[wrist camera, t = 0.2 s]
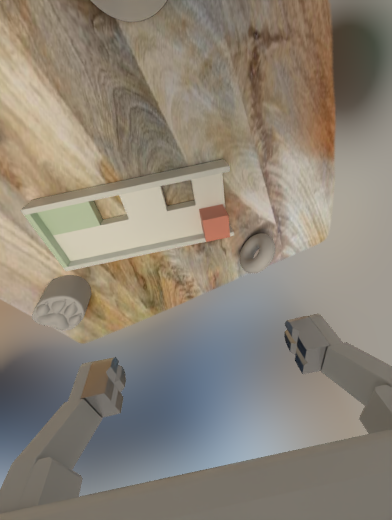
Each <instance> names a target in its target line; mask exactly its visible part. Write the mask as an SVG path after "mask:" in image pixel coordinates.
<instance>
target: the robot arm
mask: <svg viewBox="0 0 392 520" xmlns="http://www.w3.org/2000/svg"><path fill="white" fill-rule="evenodd" d="M91 1H92V2H93V3H94V4H95V5H96V6H97V7H98V8H99V9H101V10H102V11H103V12H105V13H106V14H108V15H110V16H111V17H114V18H116V19H119V20H122V21H127V22H137V21H142V20H145V19H148V18H149V17H151V16H153V15H154V14H156V13H157V12H158V11H159V10H160V9H161V8H162V7H163V6H164V4H165V3H166V2H167V0H91ZM285 326H286V328H287V330H286V331H285V336H284V337H285V341H286V344H287V346H288V348H289V350H290V352H292V353H293V354H295V361H296V363H297V365H298V367H299V369H300V371H301V372H302V374H305V373H311V372H317V371H321V372H322V373H323V374H325V375H326V376H327V377H329V378H330V379H331V380H332V381H334V382H335V383H336V384H338V385H339V386H340V387H342V388H343V389H344V390H345V391H347V392H348V393H349V394H351V395H352V396H353V397H355V398H356V399H357V400H358V401H360V402H361V403H362V404H364V405H365V408H364V409H363V411H362V413H361V415H360V421H361V422H362V424H363V426H364V427H365V429H366V430H367V432H368V433H369V434H367V435H363V436H358V437H353V438H349V439H344V440H339V441H335V442H330V443H325V444H321V445H316V446H312V447H307V448H302V449H298V450H293V451H288V452H284V453H279V454H275V455H270V456H265V457H261V458H256V459H251V460H247V461H242V462H238V463H233V464H228V465H224V466H219V467H215V468H210V469H205V470H200V471H196V472H192V473H187V474H182V475H177V476H173V477H168V478H163V479H159V480H154V481H149V482H145V483H140V484H136V485H131V486H127V487H122V488H117V489H112V490H108V491H103V492H98V493H94V494H89V495H85V496H80V497H79V492H80V488H81V483H82V477H81V475H79V474H77V473H76V472H74V471H72V469H73V467H74V466H75V464H76V462H77V461H78V459H79V457H80V456H81V454H82V452H83V451H84V449H85V447H86V445H87V444H88V442H89V440H90V439H91V437H92V435H93V434H94V432H95V430H96V429H97V427H98V425H99V424H100V422H101V420H102V418H103V417H106V416H111V415H115V414H119V413H121V408H122V402H123V396H122V394H121V392H122V390H123V389H124V387H125V382H126V378H125V371H124V369H123V367H122V366H120V365H118V362H119V361H118V359H117V358H116V357H115V358H109V359H104V360H99V361H94V362H89V363H85V364H82V365H81V367H80V368H79V371H78V374H77V377H76V380H75V382H74V386H73V388H72V391H71V394H70V397H69V400H68V402H66V403H64V404H63V405H62V406H61V407H60V408H59V410H58V411H57V412H56V413H55V414H54V415H53V417H52V418H51V419H50V420H49V421H48V422H47V424H46V425H45V426H44V427H43V428H42V429H41V431H40V432H39V433H38V434H37V435H36V436H35V438H34V439H33V440H32V441H31V442H30V443H29V445H28V446H27V447H26V448H25V449H24V450H23V451H22V453H21V454H20V455H19V456H18V457H17V458H16V460H15V461H14V462H13V463H12V465H11V467H10V469H9V471H8V474H7V476H6V478H5V480H4V482H3V485H2V487H1V489H0V520H392V366H390V365H388V364H386V363H384V362H383V361H381V360H379V359H377V358H375V357H373V356H371V355H370V354H368V353H366V352H364V351H362V350H360V349H358V348H356V347H354V346H353V345H351V344H349V343H347V342H346V343H343V342H342V341H341V339H340V338H339V337H338V336H337V334H336V333H335V332H334V331H333V330H332V329H331V327H330V326H329V325H328V323H327V322H326V321H325V320H324V319H323V317H322V316H321V315H320V314H314V315H310V316H303V317H300V318H295V319H290V320H287V321H286V322H285Z"/></svg>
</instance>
